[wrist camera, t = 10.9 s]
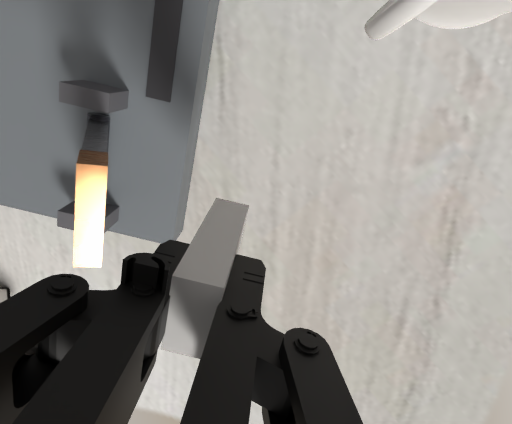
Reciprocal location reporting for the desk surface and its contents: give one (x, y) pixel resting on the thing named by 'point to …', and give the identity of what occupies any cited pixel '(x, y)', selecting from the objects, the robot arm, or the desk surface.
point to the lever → (91, 192)
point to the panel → (103, 105)
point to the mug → (434, 14)
